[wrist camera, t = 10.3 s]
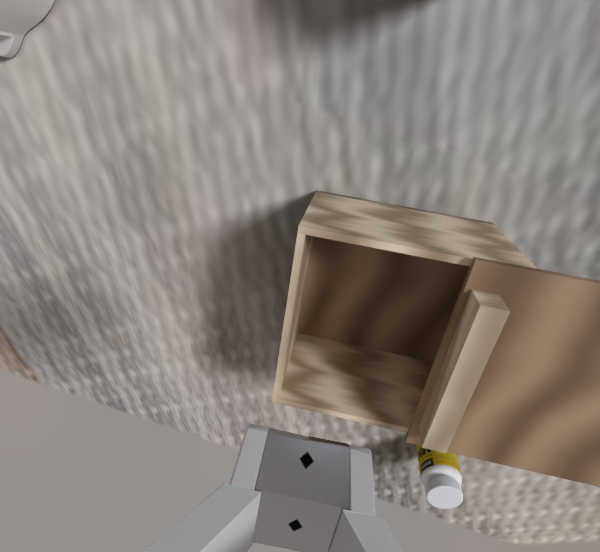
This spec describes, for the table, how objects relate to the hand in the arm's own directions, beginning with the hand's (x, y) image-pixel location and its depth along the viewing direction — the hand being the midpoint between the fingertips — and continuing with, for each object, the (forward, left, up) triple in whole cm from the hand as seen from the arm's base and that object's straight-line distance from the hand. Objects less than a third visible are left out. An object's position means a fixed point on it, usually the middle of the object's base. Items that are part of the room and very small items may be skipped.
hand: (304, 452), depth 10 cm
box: (+6, -11, -33) cm, 35 cm away
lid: (+19, -11, -21) cm, 30 cm away
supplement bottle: (+18, -32, -33) cm, 49 cm away
